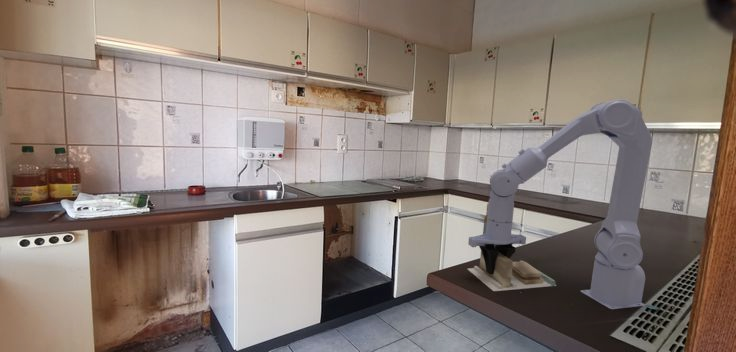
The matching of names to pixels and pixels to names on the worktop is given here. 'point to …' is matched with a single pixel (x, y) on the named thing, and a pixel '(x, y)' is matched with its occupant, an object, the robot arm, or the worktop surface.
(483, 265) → the birch panel
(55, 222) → the worktop surface
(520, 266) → the offcut stack
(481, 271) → the board
